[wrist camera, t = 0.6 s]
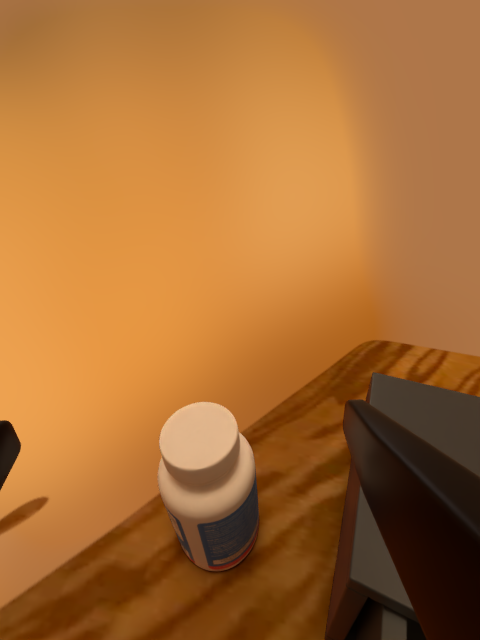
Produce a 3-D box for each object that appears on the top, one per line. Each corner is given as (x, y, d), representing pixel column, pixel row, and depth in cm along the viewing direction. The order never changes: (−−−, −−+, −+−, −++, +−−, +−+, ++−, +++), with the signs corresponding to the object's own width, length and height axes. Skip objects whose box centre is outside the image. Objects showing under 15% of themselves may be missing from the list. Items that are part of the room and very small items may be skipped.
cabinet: (650, 835, 10) (949, 881, 6) (324, 639, 15) (348, 578, 10) (536, 512, 19) (620, 429, 15) (352, 450, 24) (372, 371, 19)
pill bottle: (266, 493, 21) (265, 400, 16) (248, 586, 17) (238, 501, 12) (197, 475, 23) (175, 385, 17) (164, 558, 18) (121, 470, 13)
